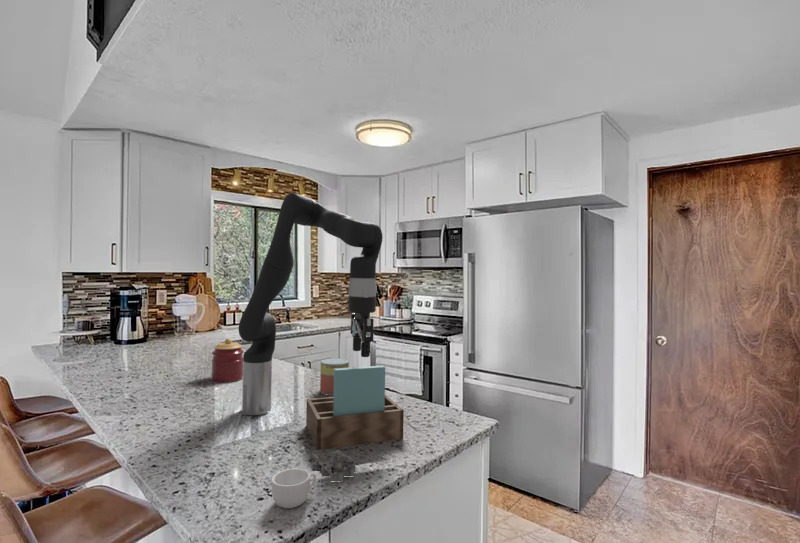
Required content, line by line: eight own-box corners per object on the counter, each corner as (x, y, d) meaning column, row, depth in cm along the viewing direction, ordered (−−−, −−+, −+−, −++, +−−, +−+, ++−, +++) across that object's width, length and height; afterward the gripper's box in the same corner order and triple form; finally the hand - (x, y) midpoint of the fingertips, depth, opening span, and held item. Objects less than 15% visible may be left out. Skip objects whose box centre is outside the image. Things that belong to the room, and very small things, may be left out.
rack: (316, 455, 110) (317, 419, 110) (306, 431, 127) (306, 399, 127) (402, 444, 119) (403, 410, 119) (382, 422, 136) (382, 392, 136)
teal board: (334, 445, 114) (335, 370, 114) (332, 442, 115) (334, 368, 115) (383, 438, 119) (385, 367, 119) (381, 436, 120) (382, 365, 120)
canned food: (329, 397, 162) (330, 365, 162) (314, 390, 170) (315, 360, 170) (354, 392, 169) (354, 361, 169) (338, 385, 178) (339, 357, 178)
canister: (249, 378, 187) (250, 338, 187) (223, 384, 176) (224, 342, 176) (231, 374, 194) (231, 335, 194) (204, 379, 183) (205, 338, 183)
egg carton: (309, 469, 104) (309, 452, 104) (336, 460, 108) (336, 444, 108) (332, 486, 95) (333, 468, 95) (360, 476, 100) (360, 459, 100)
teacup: (283, 518, 83) (284, 490, 83) (263, 502, 88) (264, 476, 88) (325, 499, 90) (326, 473, 90) (305, 485, 95) (305, 461, 95)
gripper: (342, 293, 122) (341, 349, 122) (355, 296, 109) (354, 359, 109) (368, 293, 125) (366, 348, 125) (383, 296, 112) (382, 358, 112)
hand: (360, 353), depth 117 cm, fingers open, 8 cm apart
